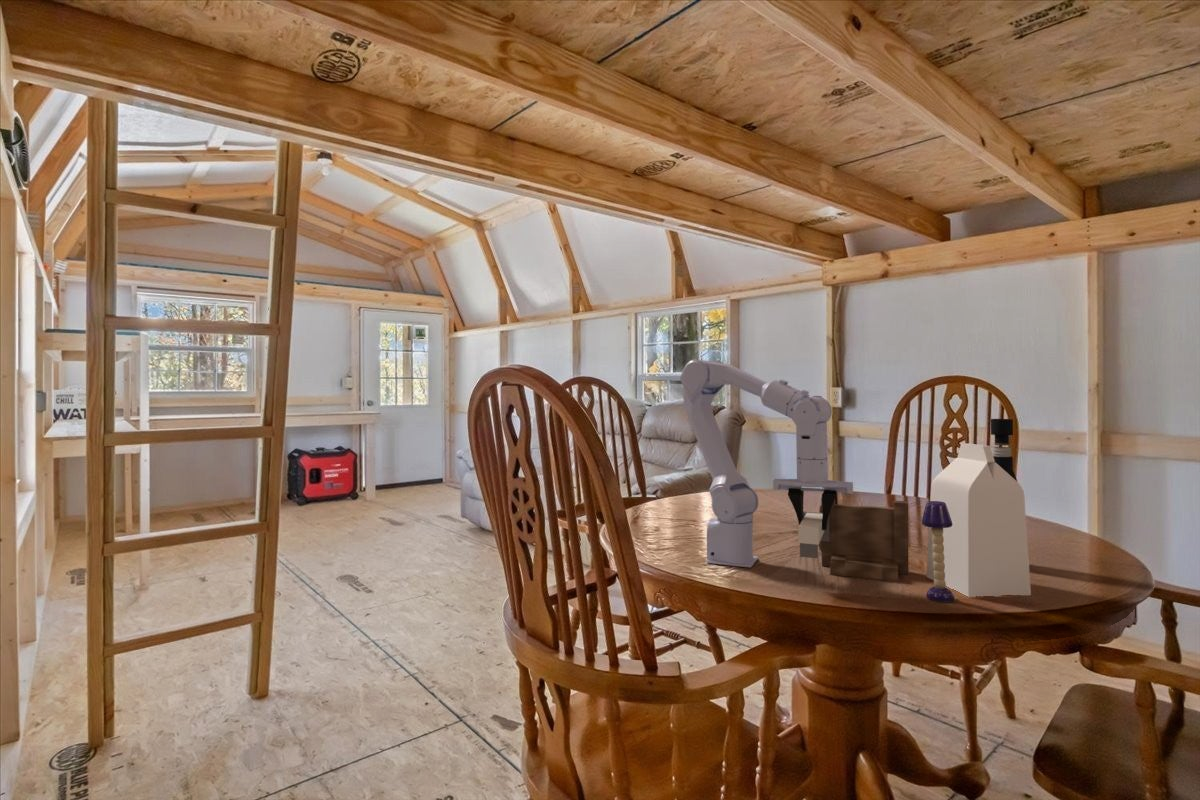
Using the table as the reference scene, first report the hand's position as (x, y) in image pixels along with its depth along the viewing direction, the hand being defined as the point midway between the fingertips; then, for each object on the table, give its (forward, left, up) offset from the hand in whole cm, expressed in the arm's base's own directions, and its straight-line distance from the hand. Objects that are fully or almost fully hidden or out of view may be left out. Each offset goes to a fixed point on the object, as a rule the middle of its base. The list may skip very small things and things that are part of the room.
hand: (812, 528), depth 118 cm
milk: (+28, +6, -10) cm, 30 cm away
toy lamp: (+21, -4, -10) cm, 23 cm away
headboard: (+9, +7, -10) cm, 15 cm away
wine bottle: (+35, +24, -10) cm, 44 cm away
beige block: (0, -1, -4) cm, 4 cm away
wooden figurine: (+2, +20, -10) cm, 23 cm away
